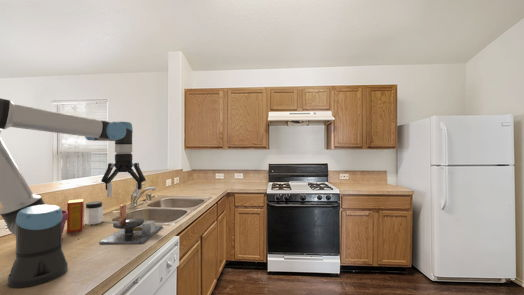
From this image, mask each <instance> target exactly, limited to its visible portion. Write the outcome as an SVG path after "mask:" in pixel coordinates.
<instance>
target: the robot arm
mask: <svg viewBox="0 0 524 295" xmlns="http://www.w3.org/2000/svg"><path fill="white" fill-rule="evenodd" d="M8 128H16V129H24V130H31V131H39V132H46V133H47V132H49V133H53V134H56V133H57V134H63V135H64V134H65V135H72V136H79V137H84V138H85V139H86V141H92V142H93V141H94V142H96V141H98V142H100V141H101V142H114V153H115V154H114V162H115V163H113V162H109V163H107V169H106V170H105V173H104V174H103V176H102V179H101V180H100V182H101V183H104V184H105V190H106V192H107V193H106V197H107V198H110V197H113V183H112V181H113V180H114V178H116V176H117V175H118V174H119V173H128V174H129V175H130V176H131V177H132V178H133V180H135V182H136V183H135V197H140V196H141V190H142V188H143V187H142V184H143V182H146V177H145V175H144V174H143V172H142V170H141V168H140V163H139V162H135V163H133V124H132V122H129V121H109V120H108V121H107V120H101V119H96V118H91V117H86V116H79V115H74V114H69V113H64V112H60V111H59V112H57V111H53V110H48V109H42V108H35V107H33V106H32V107H31V106H25V105H19V104H15V103H14V102H13V101H12V100H10V99H5V98H0V134H1V133H2V131H3V130H6V129H8ZM133 168H134V169H133ZM113 169H114V170H113ZM134 170H135V171H136V172H135V171H134ZM112 171H113V172H112ZM0 205H1V206H2V207H1V208H0V216H1V218H2V219H3V221H4V222H5V224H6V227H7V229H8V231H9V232H11V233H12V234H13V235H14V236H15V259H14V262H13V263H12V266H11V270H10V272H9V274H8V275H7V285H8V287H10V288H17V289H19V288H27V287H33V286H38V285H41V284H44V283H47V282H50V281H52V280H54V279H57V278H59V277H61V276H63V275H64V274H66V272H67V271H68V269H69V268H68V267H69V265H68V260H67V259H66V257H65V256H66V255H65V254H64V251H63V247H62V246H63V245H62V244H63V243H62V242H63V240H62V239H63V233H62V218H63V214H62V210H63V209H62V208H61V207H60V206H59V205H55V204H46V203H45V201H44V199H43V198H42V197H41V195H38V194H35V193H33V191H32V190H31V188H30V186H29V185H28V183H27V181H26V179H25V177H24V176H23V174H22V172H21V171H20V169H19V167H18V166H17V163H16V162H15V160H14V159H13V157H12V155H11V153H10V151H9V150H8V148H7V147H6V144H5V143H4V140H2V138H1V137H0Z"/></svg>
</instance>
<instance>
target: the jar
mask: <svg viewBox="0 0 524 295" xmlns="http://www.w3.org/2000/svg"><path fill="white" fill-rule="evenodd" d="M103 221H104V206H103V202H102V201H101V200H98V201H90V202H89V201H88V202H86V203H85V207H84V225H89V226H90V225H91V224H92V225H97V224H98V225H99V224H100V223H103ZM92 225H91V226H92Z"/></svg>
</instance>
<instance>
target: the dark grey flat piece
mask: <svg viewBox="0 0 524 295" xmlns="http://www.w3.org/2000/svg"><path fill="white" fill-rule="evenodd" d="M155 222H156V221H155V220H146V221H144V223H143V224H142V225H140V226H137V227H142V231H133V232H132V233H125V229H118V230H117V231H115V232H114V233H111V234H110V235H108V236H107V237H105V238H103V239H102V240H100V241H98V244H99V245H125V244H126V245H129V244H130V245H133V244H134V245H139V244H141V245H142V244H144V243H145V242H147V241H148V240H149V239H150V238H151V237H152V236H154V235H155V234H156V233H157V232H159V231H160V230H161V229H162V228H163V225H162V224H161V225H155V224H156V223H155Z"/></svg>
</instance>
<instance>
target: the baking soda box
mask: <svg viewBox="0 0 524 295" xmlns="http://www.w3.org/2000/svg"><path fill="white" fill-rule="evenodd" d="M66 209H67V210H66V211H68V219H67V220H66V233H74V232H75V231H76V232H81V231H83V230H84V227H85V226H84V225H85V198H79V199H69V200H68V201H67V205H66ZM83 226H84V227H83ZM76 232H75V233H76Z"/></svg>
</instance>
